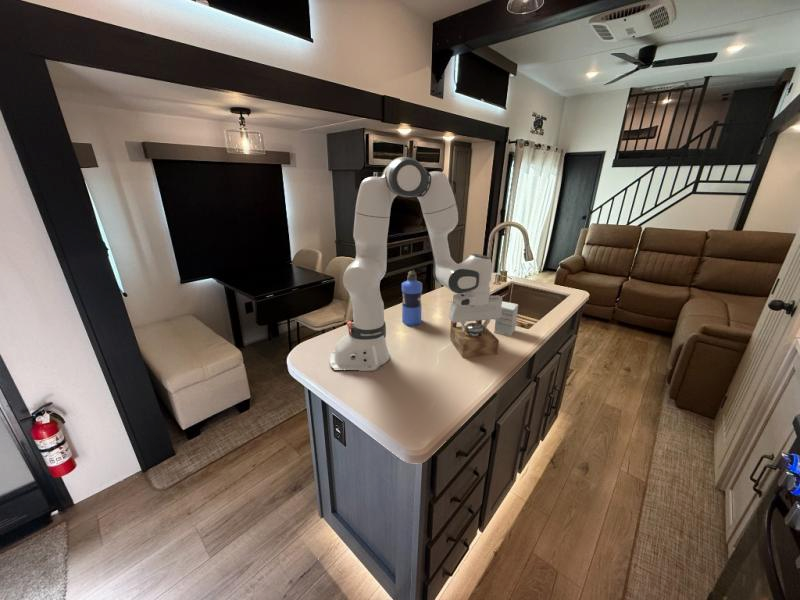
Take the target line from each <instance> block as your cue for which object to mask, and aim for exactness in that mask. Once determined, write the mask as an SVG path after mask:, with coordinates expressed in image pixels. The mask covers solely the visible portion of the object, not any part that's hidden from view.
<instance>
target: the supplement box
mask: <svg viewBox="0 0 800 600" xmlns="http://www.w3.org/2000/svg"><path fill="white" fill-rule="evenodd" d="M501 307H502V315H501V317H500V318H499V319H494V320H495V321H494V331H493V332H494V334H499V335H503V336H506V337H510V336H511V337H512V336H513V334H514V332H515V331H516V325H517V317H518V310H519V303H518V304H517V303H513V302H509V301H503V300H502V305H501Z"/></svg>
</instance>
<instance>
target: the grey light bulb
mask: <svg viewBox="0 0 800 600" xmlns="http://www.w3.org/2000/svg"><path fill="white" fill-rule="evenodd" d="M465 326H467V327H468V329H467V330H468V332H469V336H470V337H474V336H479V333H481V332H483V326H482V325H481V324H478V323H476V322H470V323H467V324H465Z"/></svg>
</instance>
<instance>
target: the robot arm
mask: <svg viewBox="0 0 800 600" xmlns="http://www.w3.org/2000/svg"><path fill="white" fill-rule="evenodd" d="M357 192H358V193H357V198H356V202H355V210H354V223H353V234H352V235H353V236H352V237H353V240H354V243H355V258H354V260H353V261H352V262H351V263H350V264H349V265H347V268H346V269H345V271H344V273H343V275H342V283H343V287H344V289H346V291H347V293H348V294H349V297H350V301H351V305H352V306H351V307H352V317H353V319H352V320H353V321H351V320H349V321H347V323H346V325H347V326H346V327H347V329H348V330H347V331H348V332H347V333H346V334H345V335H344V336H342V338H339V340H337V342H336V345H335V347H334V350H333V351H331V353H330V355H329V362H330V364H329V366H330V365H331V367H332V368H333V369H340V370H341V369H342V370H344V369H345V370H359V371H358V372H361V371H362V372H372V371H376V370H377V369H378V368H379V367H380V366H382V365H384V364H385V363H387V362H388V361H389V359H390V357H391V355H390V352H389V349H388V346H387V341H386V339H387V338H386V337H387V325H386V320H385V305H384V301H383V299H382V295H381V294H382V293H381V291H380V290H381V289H380V284H381V280H382V279H383V278H384V277H385V274H386V272H387V260H388V259H387V258H388V247H387V246H388V233H389V227H390V217H391V208H392V204H393V202H394V199H395V198H396V197H398V196H400V197H401V198H402V197H403V198H417V200H418V201H419V204H420V208H421V212H422V215H423V219H424V222H425V225H426V229H427V232H428V239H429V243H430V247H431V251H432V256H433V257H432V258H433V267H432V268H433V269H432V274H433V279H434V280H435V282H436V283H438V284H440V285H441V286H444V287H445V288H447V289H448V290H450V291H451V292H452V293H455V294H453V296H452V300H453V301H452V302H451V304H450V307H449V315H448V316H449V320H450V322H451V321H452V322H454V323H456V322H457V323H460V324H461V326H463V328H462V330H463V331H464V332H465V331H468V330H467V329H468V327H467V326H466V322H476V321H479V320H482V321H484V322H483V323H482V324H481V325H482V326H483V330H486V328H487V327H488V325H489V323H490V322H491V320H496V319H499V318H500V317H501V315H502V307H501V305H502V301H503V297H502V296H500V295H497V294H496V295H491V294H490V292H491V288H490V283H491V281H492V274H493V273H492V272H493V271H492V269H493V268H492V267H493V266H492V259H491V258H490V257H488V256H486V255H483V254H481V253H480V254H479V253H471V254H470V255H469V256H468V257H467V258H466V259H465V260H463V261H462V262H459V263H457V262H456V261H454V259H453V258H452V257H451V252H450V248H449V247H450V246H449V241H448V236H449V234H450V233H451V232H453V231H454V229H455V228H456V227H457V225H458V222H459V212H458V206H457V202H456V198H455V194H454V192H453V188H452V186H451V184H450V181H449V179H448V177H447V175H446V174H445V173H443V172H442V171H439V170H436V171H428V170H427V169H426V168H425V167H424V166H423V164H421V163H420V162H419V161H418V160H417V159H415V158H413V157H408V156H399V157H396V158H394V159H392V160H391V161H390V162H389V163H387V165H386V167H385V168H384V169H383V171H382V172H381V174H380V175H379V176H369V177H366V178H364V179H363V180H362V181H361V183H360V185H359V189H358V191H357ZM487 329H488V328H487ZM333 353H335V354H333ZM329 362H328V363H329ZM333 364H334V365H333ZM331 367H330V368H331ZM332 368H331V369H332ZM333 369H332V370H333Z"/></svg>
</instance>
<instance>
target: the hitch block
mask: <svg viewBox="0 0 800 600" xmlns="http://www.w3.org/2000/svg"><path fill="white" fill-rule="evenodd" d="M475 323H478V324H483V320H479V321H475ZM457 324H458V322H456V323H454V322H452V321H451V320H450V330H449V331H450V335H449V337H450V342H451V343H452V345H453V346H454V347H455V349H456V351H457V352H458V353H459V355H460V356H461V358H470V357H471V358H472V357H481V356H490V355H497V354H498V349H499V344H500V343H499V342H500V340H499V338H498V337H496V336H495V335H494V334H493V332H492V331H490V330H489V328H486V330H483V332H481V333H479V336H474V337H470V336H469V332H468V331H465V332H464V331H463V330H462V328H463V326H462V325H461V326H458V325H457Z"/></svg>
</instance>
